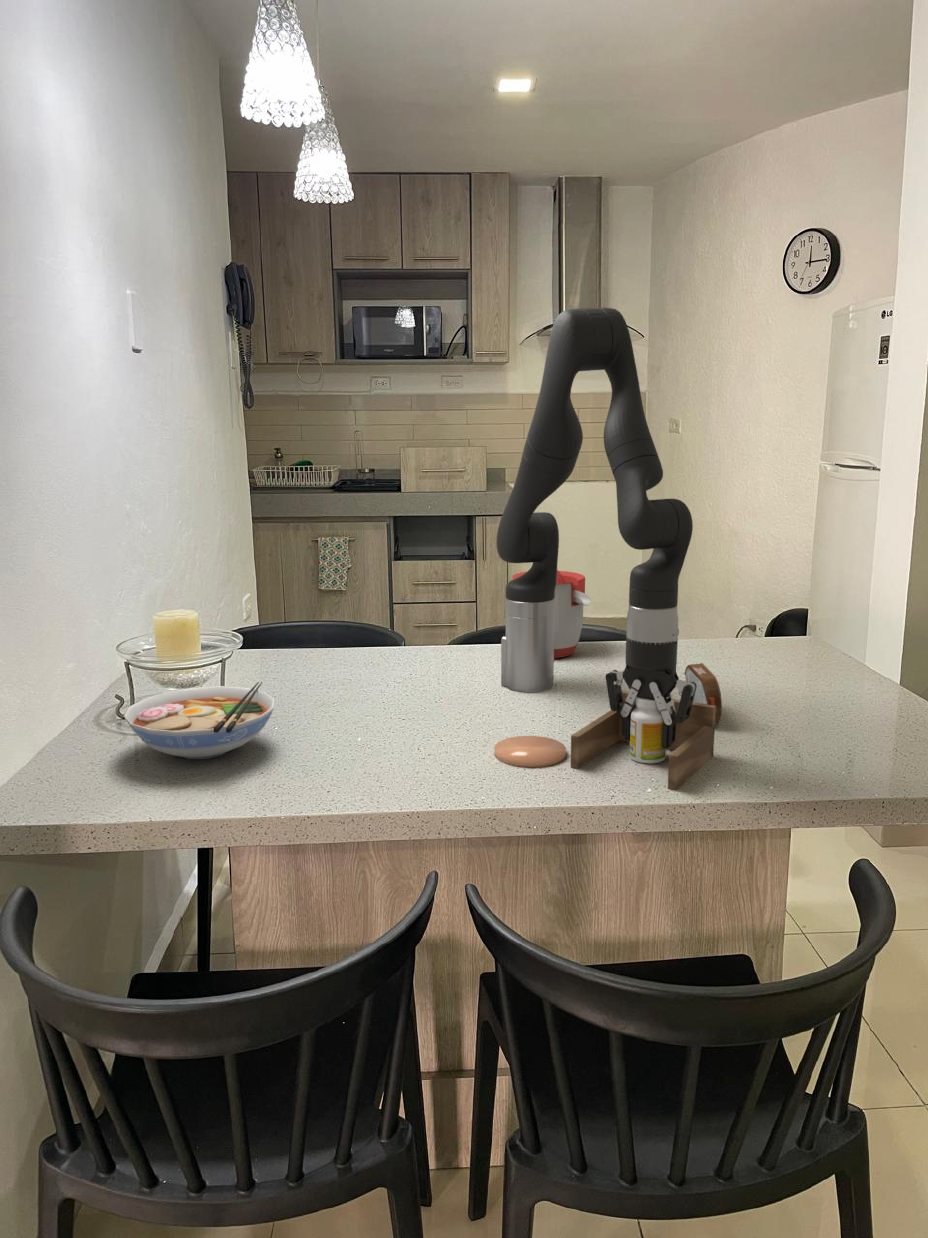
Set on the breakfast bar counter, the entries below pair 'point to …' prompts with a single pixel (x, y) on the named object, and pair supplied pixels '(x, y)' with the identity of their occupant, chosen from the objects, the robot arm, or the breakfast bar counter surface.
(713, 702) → the tin
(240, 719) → the ramen bowl
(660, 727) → the supplement bottle
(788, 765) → the breakfast bar counter surface
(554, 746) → the coaster
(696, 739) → the cubby
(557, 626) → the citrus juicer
